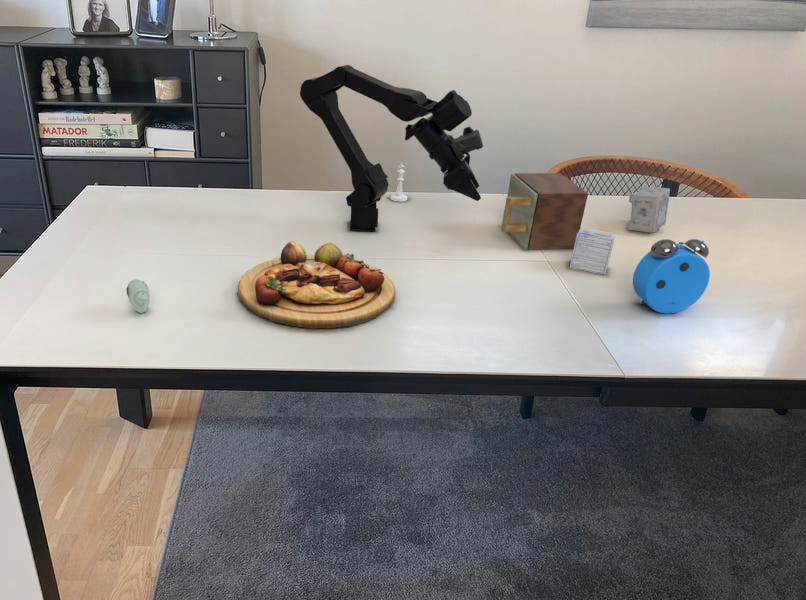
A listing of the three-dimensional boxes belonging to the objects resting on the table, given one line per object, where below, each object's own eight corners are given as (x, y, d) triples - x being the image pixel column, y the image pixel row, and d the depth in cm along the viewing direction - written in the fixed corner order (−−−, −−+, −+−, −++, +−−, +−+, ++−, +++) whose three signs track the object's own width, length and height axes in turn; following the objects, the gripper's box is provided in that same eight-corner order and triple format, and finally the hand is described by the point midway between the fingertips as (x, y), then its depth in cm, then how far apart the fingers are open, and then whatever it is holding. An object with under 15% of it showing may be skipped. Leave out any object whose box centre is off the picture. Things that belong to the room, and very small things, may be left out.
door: (501, 250, 168) (510, 194, 161) (480, 226, 181) (488, 173, 174) (527, 249, 169) (538, 194, 161) (505, 226, 182) (514, 173, 175)
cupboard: (528, 250, 169) (539, 193, 161) (505, 226, 182) (515, 173, 175) (575, 249, 170) (588, 193, 163) (549, 226, 184) (560, 173, 176)
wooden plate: (275, 346, 125) (275, 304, 121) (216, 276, 149) (214, 240, 145) (425, 313, 138) (429, 274, 134) (348, 254, 162) (350, 220, 158)
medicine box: (607, 268, 161) (616, 232, 156) (604, 275, 158) (614, 239, 153) (572, 261, 164) (580, 226, 159) (568, 268, 160) (577, 232, 156)
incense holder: (633, 219, 191) (643, 182, 185) (664, 227, 186) (675, 189, 181) (620, 229, 184) (630, 190, 179) (652, 237, 180) (663, 197, 174)
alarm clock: (683, 301, 148) (705, 234, 140) (699, 315, 142) (723, 245, 135) (624, 302, 146) (643, 234, 138) (638, 316, 141) (659, 246, 133)
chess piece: (407, 202, 196) (411, 166, 191) (390, 201, 196) (393, 165, 191) (406, 196, 200) (410, 161, 195) (389, 195, 200) (392, 160, 195)
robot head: (152, 321, 131) (149, 288, 128) (130, 323, 130) (126, 290, 127) (149, 302, 138) (146, 270, 134) (128, 304, 137) (124, 272, 133)
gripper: (466, 127, 147) (510, 183, 152) (463, 109, 163) (504, 159, 168) (424, 162, 152) (469, 215, 157) (426, 141, 168) (466, 189, 173)
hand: (478, 193), depth 163 cm, fingers open, 9 cm apart
